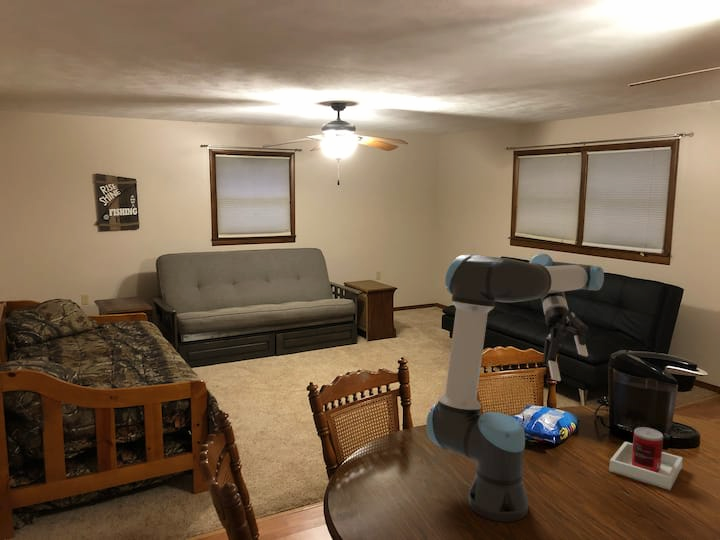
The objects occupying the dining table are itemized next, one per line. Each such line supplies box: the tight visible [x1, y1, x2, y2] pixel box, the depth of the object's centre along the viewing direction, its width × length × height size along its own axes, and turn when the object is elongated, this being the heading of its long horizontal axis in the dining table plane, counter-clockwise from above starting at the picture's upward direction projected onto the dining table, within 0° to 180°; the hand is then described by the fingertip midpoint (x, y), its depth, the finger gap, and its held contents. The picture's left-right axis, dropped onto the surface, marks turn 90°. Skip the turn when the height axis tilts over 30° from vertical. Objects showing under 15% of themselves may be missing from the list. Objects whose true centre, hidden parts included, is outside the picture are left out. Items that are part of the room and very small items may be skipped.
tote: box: [608, 441, 684, 491], centre depth 162 cm, size 16×16×4 cm
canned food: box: [632, 426, 664, 473], centre depth 162 cm, size 8×8×11 cm
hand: (569, 367), depth 161 cm, fingers open, 13 cm apart
